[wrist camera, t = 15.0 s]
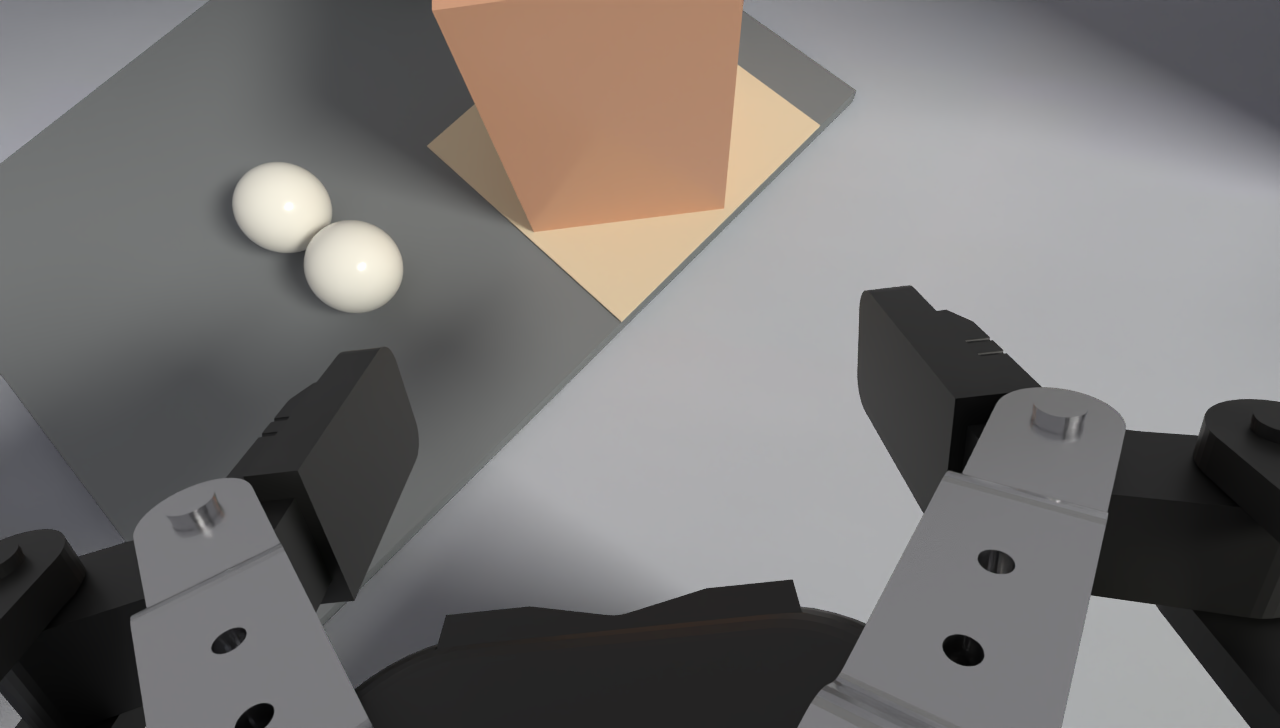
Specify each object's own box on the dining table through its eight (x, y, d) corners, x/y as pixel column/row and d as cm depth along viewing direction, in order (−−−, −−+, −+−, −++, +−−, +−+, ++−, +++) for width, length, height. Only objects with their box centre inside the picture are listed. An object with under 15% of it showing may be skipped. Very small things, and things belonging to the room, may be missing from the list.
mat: (460, -178, 31) (455, -195, 30) (852, 101, 26) (857, 88, 25) (-82, 247, 27) (-102, 239, 26) (253, 694, 21) (239, 698, 21)
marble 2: (380, 229, 25) (340, 184, 22) (434, 282, 24) (400, 243, 21) (315, 287, 24) (264, 249, 21) (368, 343, 24) (323, 311, 21)
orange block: (524, 73, 26) (428, -214, 17) (700, 50, 26) (706, -256, 16) (533, 232, 24) (432, 10, 15) (724, 208, 24) (746, -33, 14)
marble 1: (314, 176, 26) (266, 126, 23) (364, 226, 25) (322, 181, 22) (249, 231, 25) (192, 187, 22) (299, 283, 24) (247, 245, 22)
